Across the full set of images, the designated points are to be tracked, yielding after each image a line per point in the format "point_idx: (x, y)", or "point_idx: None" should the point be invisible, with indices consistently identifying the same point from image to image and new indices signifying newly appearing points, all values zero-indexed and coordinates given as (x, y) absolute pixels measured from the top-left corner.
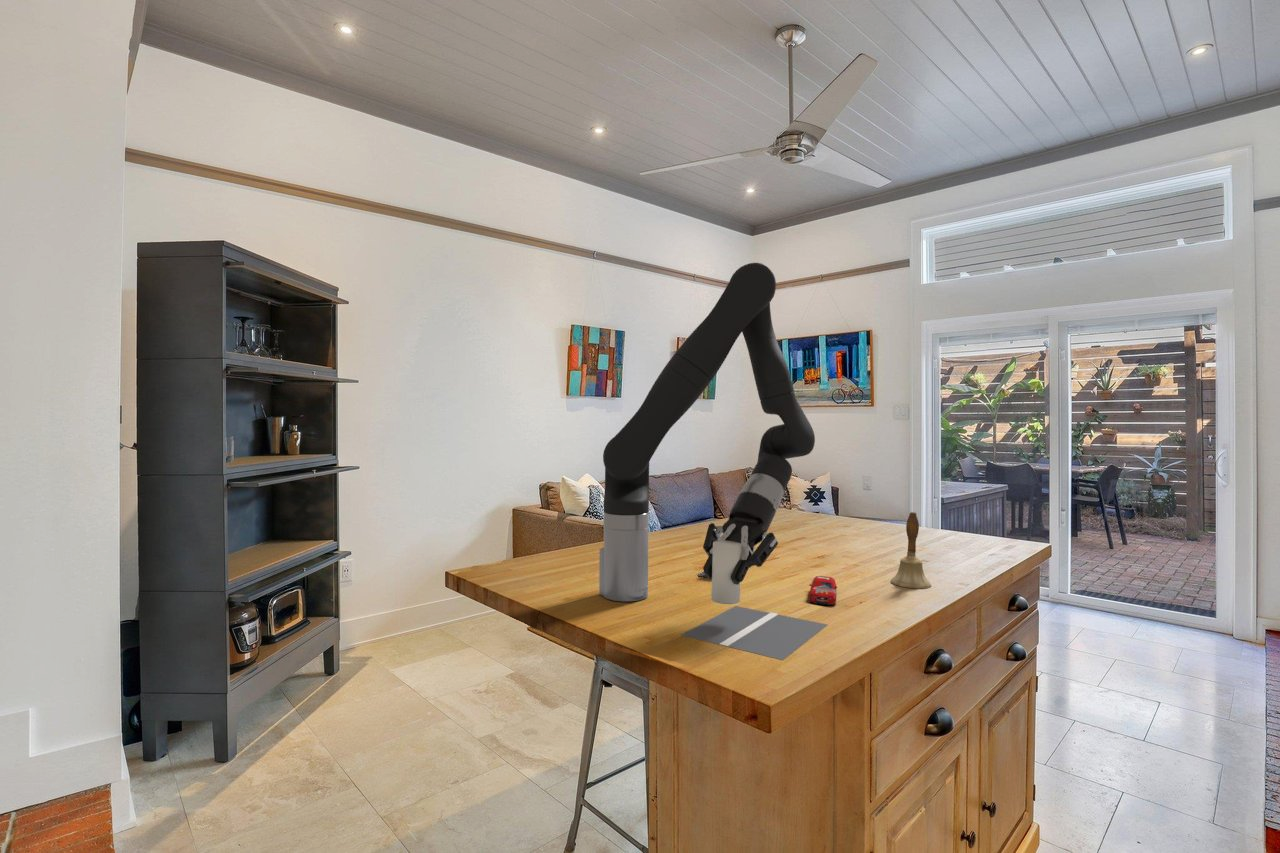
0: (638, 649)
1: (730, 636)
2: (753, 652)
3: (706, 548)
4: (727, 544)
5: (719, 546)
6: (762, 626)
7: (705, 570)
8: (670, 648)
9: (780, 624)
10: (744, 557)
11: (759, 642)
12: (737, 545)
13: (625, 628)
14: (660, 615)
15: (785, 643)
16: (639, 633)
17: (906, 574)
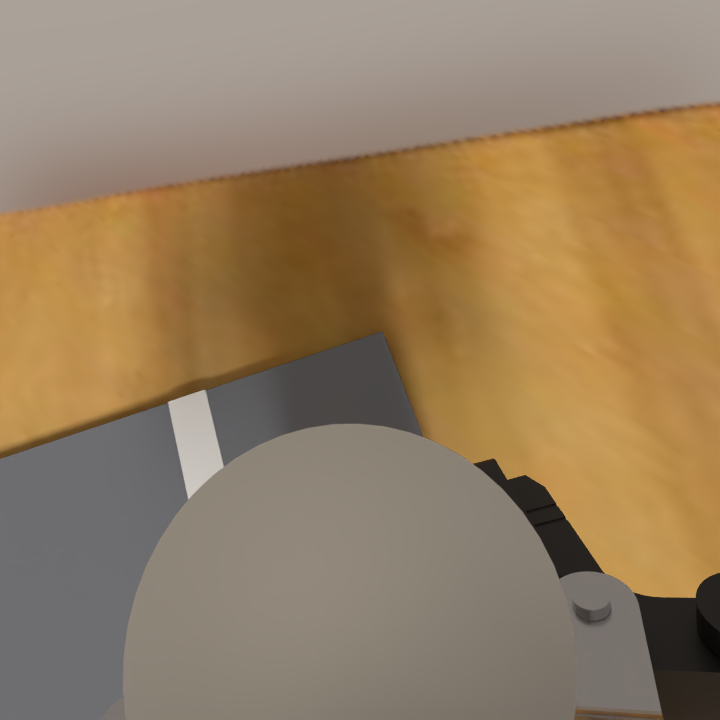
0: (378, 165)
1: None
2: (58, 441)
3: (710, 591)
4: (288, 588)
5: (298, 432)
6: None
7: (478, 462)
8: (320, 249)
9: None
10: (122, 711)
11: (102, 549)
12: (148, 676)
13: (597, 226)
14: (698, 441)
15: (11, 647)
16: (516, 240)
17: None
